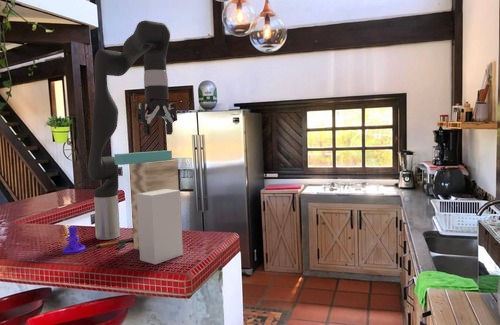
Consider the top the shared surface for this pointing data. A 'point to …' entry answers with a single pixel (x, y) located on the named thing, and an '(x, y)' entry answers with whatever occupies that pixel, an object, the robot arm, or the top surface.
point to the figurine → (73, 242)
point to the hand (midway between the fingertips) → (158, 135)
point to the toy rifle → (120, 242)
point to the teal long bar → (142, 157)
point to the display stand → (150, 184)
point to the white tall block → (159, 225)
